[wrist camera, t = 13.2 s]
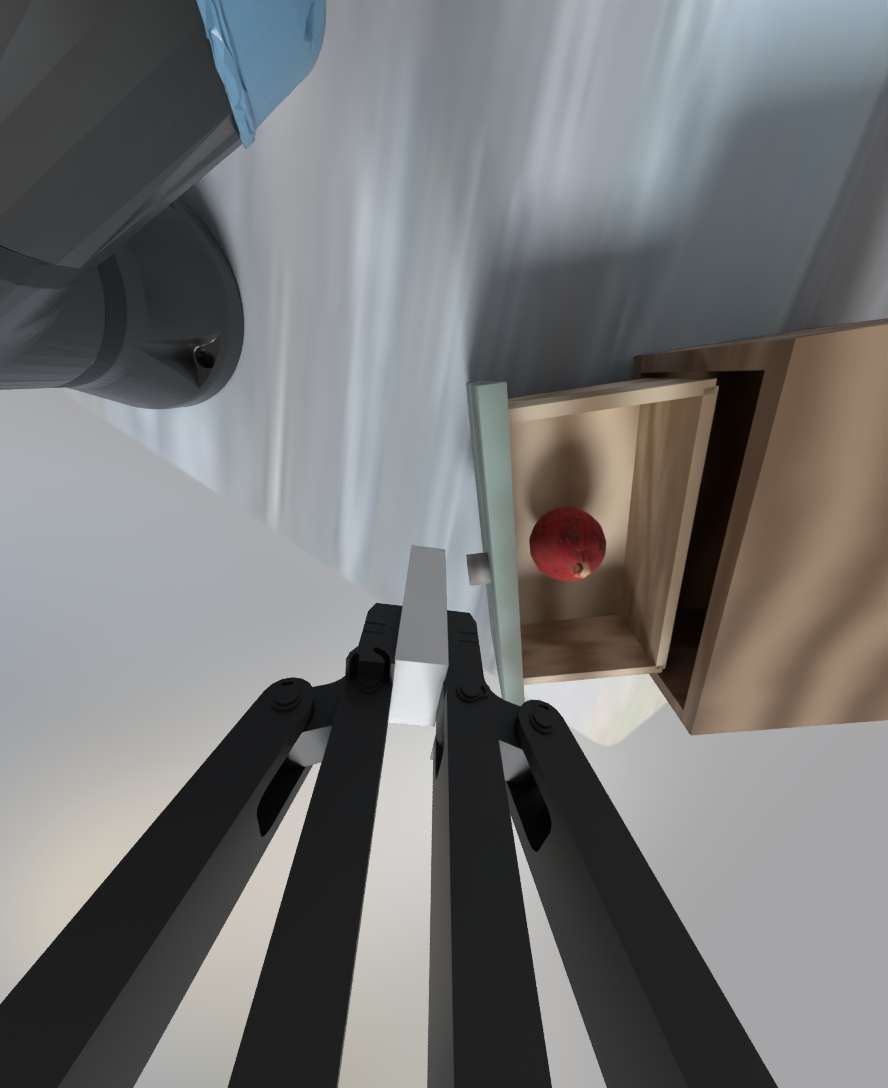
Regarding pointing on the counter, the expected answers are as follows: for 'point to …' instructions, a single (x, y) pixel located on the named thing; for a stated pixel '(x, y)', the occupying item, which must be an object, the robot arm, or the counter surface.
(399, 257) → the counter surface
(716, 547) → the cabinet
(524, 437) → the drawer
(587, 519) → the onion
